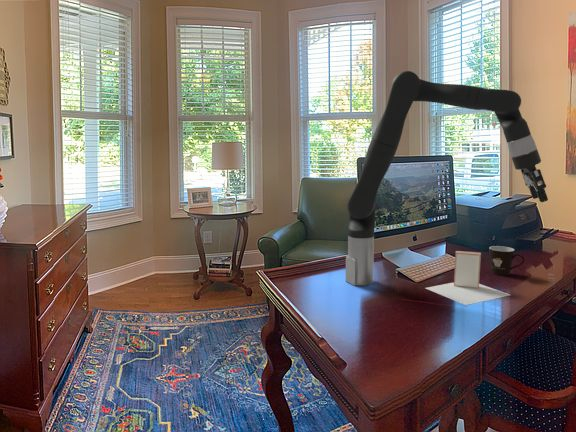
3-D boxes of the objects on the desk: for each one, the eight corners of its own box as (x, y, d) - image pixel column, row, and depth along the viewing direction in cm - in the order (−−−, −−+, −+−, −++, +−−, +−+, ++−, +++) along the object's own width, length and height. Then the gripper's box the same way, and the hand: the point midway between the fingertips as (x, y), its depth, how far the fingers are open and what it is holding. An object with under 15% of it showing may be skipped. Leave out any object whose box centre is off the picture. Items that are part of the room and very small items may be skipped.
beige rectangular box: (478, 288, 148) (480, 254, 146) (453, 286, 151) (455, 252, 149) (478, 286, 150) (480, 252, 148) (454, 283, 154) (455, 250, 152)
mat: (465, 306, 134) (465, 305, 134) (424, 289, 150) (424, 288, 150) (511, 296, 142) (511, 294, 142) (467, 281, 158) (467, 279, 158)
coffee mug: (482, 272, 168) (483, 247, 166) (499, 269, 171) (501, 245, 169) (507, 281, 157) (508, 254, 155) (524, 278, 160) (526, 251, 158)
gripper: (506, 155, 146) (522, 200, 147) (516, 157, 132) (533, 206, 133) (530, 147, 143) (546, 193, 144) (542, 147, 130) (560, 198, 131)
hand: (540, 199), depth 139 cm, fingers open, 8 cm apart
